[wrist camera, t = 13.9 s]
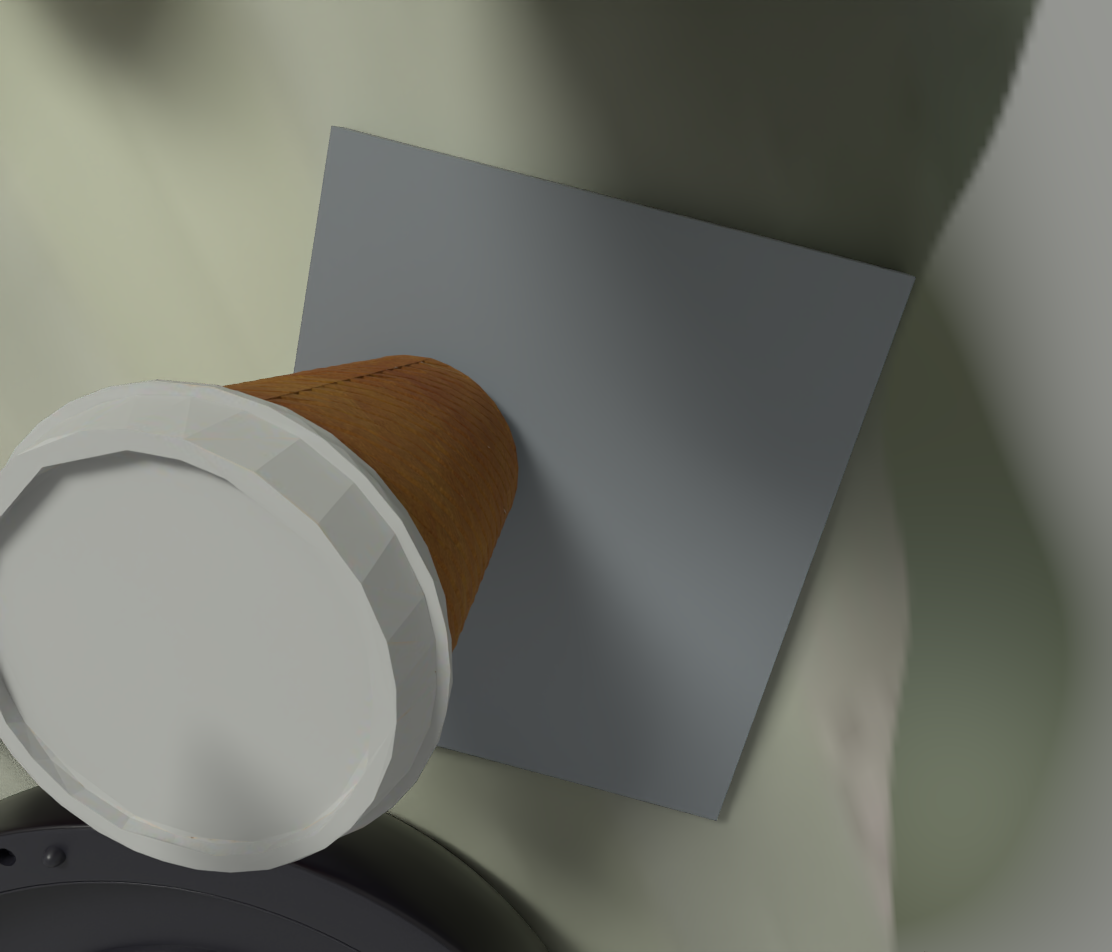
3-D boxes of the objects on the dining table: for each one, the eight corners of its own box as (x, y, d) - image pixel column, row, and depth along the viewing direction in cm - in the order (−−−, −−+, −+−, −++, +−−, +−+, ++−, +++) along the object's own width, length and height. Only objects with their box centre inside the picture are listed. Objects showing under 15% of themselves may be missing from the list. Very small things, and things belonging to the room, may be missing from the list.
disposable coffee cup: (530, 262, 25) (325, 346, 14) (606, 590, 27) (486, 887, 16) (222, 332, 27) (-158, 450, 16) (318, 625, 30) (45, 900, 19)
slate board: (343, 127, 26) (331, 125, 25) (906, 273, 26) (915, 277, 25) (256, 678, 32) (244, 693, 31) (714, 801, 32) (716, 821, 31)
